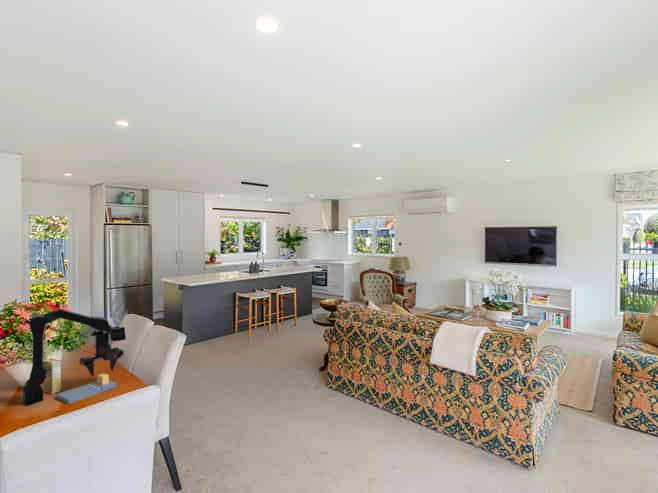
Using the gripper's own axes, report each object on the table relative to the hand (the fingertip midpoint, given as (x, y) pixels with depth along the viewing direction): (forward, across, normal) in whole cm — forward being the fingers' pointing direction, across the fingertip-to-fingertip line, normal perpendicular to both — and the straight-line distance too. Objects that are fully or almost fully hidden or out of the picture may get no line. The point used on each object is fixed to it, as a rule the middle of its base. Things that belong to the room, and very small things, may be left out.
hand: (102, 373), depth 177 cm
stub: (+7, 0, 0) cm, 7 cm away
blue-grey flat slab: (+7, -11, 0) cm, 13 cm away
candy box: (+7, -15, +18) cm, 24 cm away
